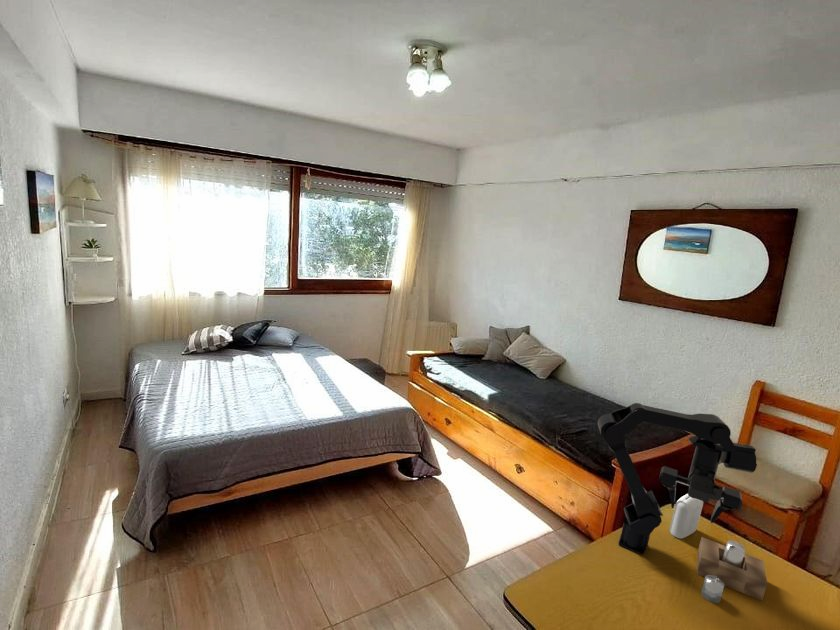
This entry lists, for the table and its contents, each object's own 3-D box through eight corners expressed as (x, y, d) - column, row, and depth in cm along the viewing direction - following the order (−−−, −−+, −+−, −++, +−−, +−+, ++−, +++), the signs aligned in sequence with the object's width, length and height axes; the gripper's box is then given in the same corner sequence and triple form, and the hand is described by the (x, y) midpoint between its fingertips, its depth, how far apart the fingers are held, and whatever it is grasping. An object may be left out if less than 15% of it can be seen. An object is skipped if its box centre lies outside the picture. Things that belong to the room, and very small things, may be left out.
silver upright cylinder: (718, 567, 122) (726, 538, 120) (736, 574, 120) (744, 545, 118) (718, 576, 118) (727, 546, 116) (737, 583, 116) (746, 553, 114)
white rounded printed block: (683, 522, 140) (692, 487, 138) (698, 531, 137) (707, 494, 134) (666, 532, 134) (675, 495, 132) (681, 541, 131) (690, 503, 128)
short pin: (701, 597, 110) (705, 581, 109) (701, 587, 114) (705, 572, 113) (720, 606, 108) (724, 590, 107) (719, 595, 112) (724, 580, 111)
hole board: (697, 573, 118) (701, 557, 117) (697, 552, 127) (701, 536, 126) (762, 601, 111) (767, 583, 110) (758, 576, 120) (763, 560, 119)
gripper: (663, 461, 117) (650, 514, 120) (750, 489, 107) (734, 546, 110) (666, 446, 126) (654, 495, 129) (747, 471, 117) (732, 524, 120)
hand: (691, 514), depth 122 cm, fingers open, 9 cm apart
